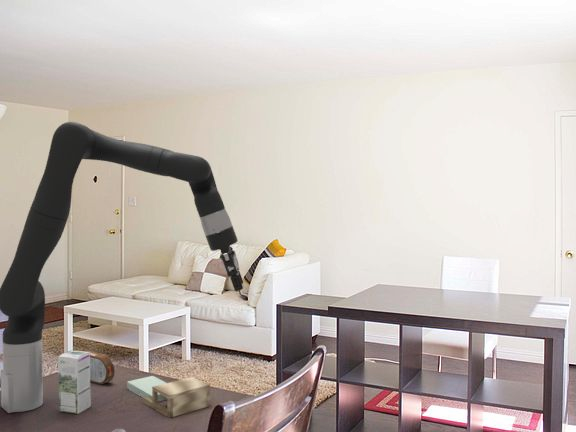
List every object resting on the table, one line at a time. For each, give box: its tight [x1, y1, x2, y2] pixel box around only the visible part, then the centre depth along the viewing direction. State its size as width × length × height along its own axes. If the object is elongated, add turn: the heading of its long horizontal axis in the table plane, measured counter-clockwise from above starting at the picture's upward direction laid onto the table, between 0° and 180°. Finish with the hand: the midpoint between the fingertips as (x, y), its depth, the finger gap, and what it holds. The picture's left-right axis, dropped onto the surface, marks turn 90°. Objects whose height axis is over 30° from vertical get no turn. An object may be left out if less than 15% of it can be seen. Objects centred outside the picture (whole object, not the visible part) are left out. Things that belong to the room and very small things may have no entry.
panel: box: [126, 375, 167, 403], centre depth 160 cm, size 8×15×2 cm, turn 41°
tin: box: [82, 349, 115, 385], centre depth 170 cm, size 15×3×8 cm, turn 58°
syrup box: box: [57, 350, 92, 415], centre depth 147 cm, size 6×6×14 cm
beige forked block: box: [142, 376, 211, 419], centre depth 151 cm, size 12×13×6 cm
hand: (239, 287), depth 152 cm, fingers open, 8 cm apart
